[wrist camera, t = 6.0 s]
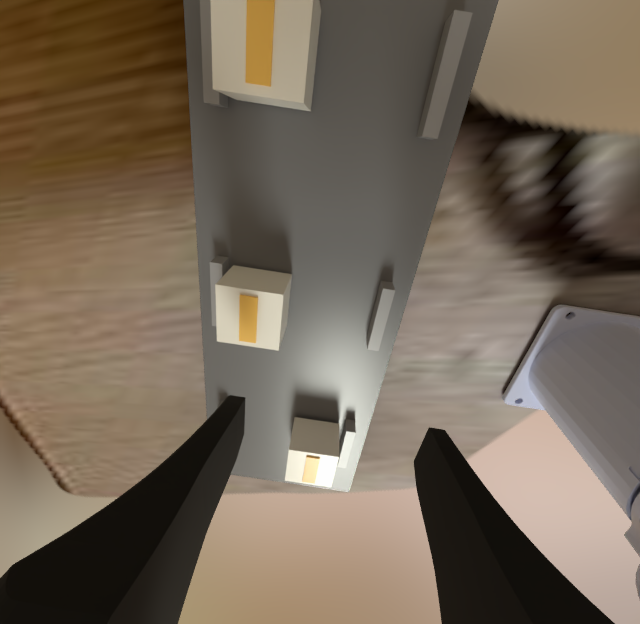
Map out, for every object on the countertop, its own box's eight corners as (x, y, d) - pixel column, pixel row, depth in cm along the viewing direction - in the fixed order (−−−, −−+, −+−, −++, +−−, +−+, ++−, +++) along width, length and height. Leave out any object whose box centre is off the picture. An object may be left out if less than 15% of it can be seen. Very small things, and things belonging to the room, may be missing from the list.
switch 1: (321, 11, 11) (315, -27, 8) (310, 111, 12) (303, 102, 10) (236, -3, 11) (207, -44, 8) (236, 99, 12) (211, 88, 10)
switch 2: (339, 423, 20) (339, 458, 18) (332, 453, 22) (331, 489, 19) (294, 416, 20) (288, 451, 18) (290, 447, 22) (284, 482, 19)
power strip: (500, -91, 12) (570, -197, 8) (348, 458, 27) (349, 505, 23) (210, -138, 11) (151, -265, 8) (223, 439, 27) (205, 483, 23)
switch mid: (291, 274, 16) (283, 295, 13) (287, 324, 17) (278, 351, 15) (233, 264, 16) (214, 285, 13) (233, 316, 17) (215, 342, 15)
